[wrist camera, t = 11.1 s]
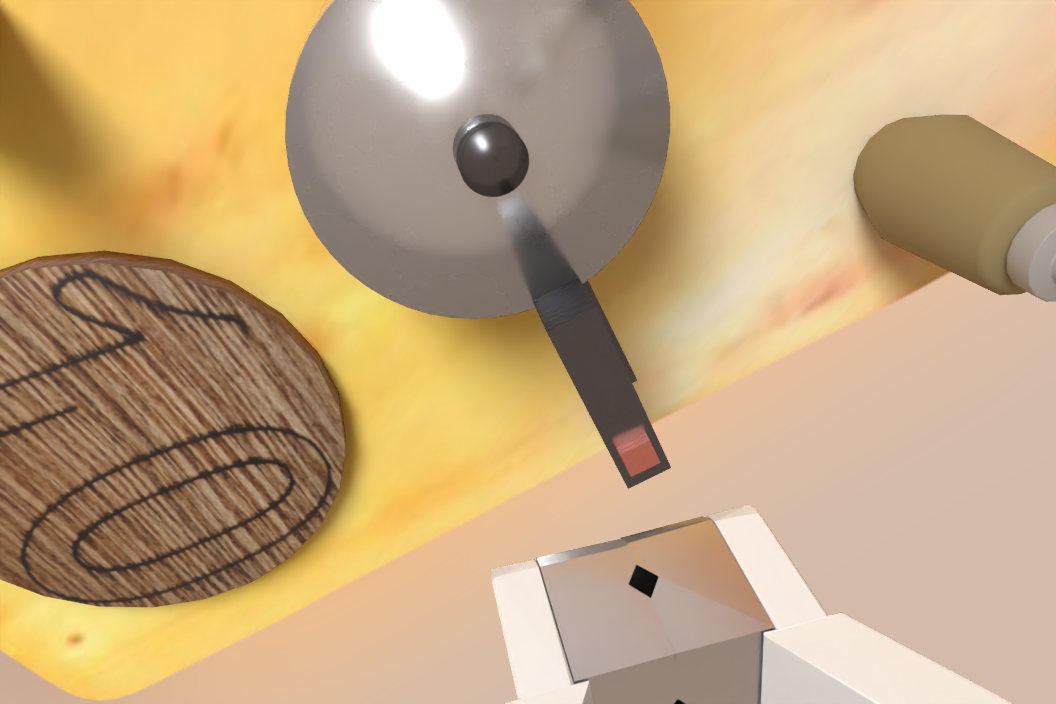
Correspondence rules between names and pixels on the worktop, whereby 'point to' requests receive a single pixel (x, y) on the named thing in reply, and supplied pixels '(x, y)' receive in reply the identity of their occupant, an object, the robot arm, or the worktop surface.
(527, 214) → the lid
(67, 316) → the trivet
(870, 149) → the squeeze bottle
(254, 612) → the worktop surface
